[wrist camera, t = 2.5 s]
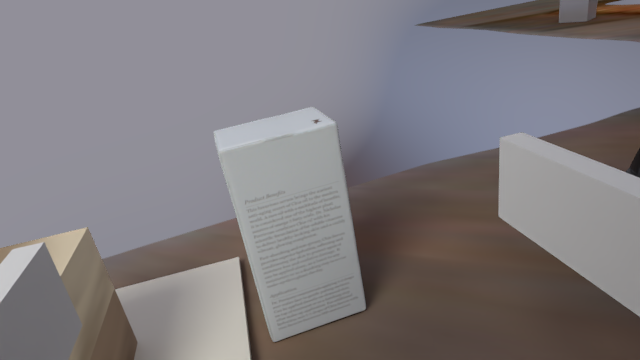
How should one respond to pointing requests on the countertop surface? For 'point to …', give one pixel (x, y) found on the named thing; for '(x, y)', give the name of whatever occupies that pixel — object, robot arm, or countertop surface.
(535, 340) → the countertop surface
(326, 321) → the skincare box
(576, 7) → the soap dispenser
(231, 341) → the plate
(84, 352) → the upper block
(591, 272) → the robot arm
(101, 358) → the lower block
